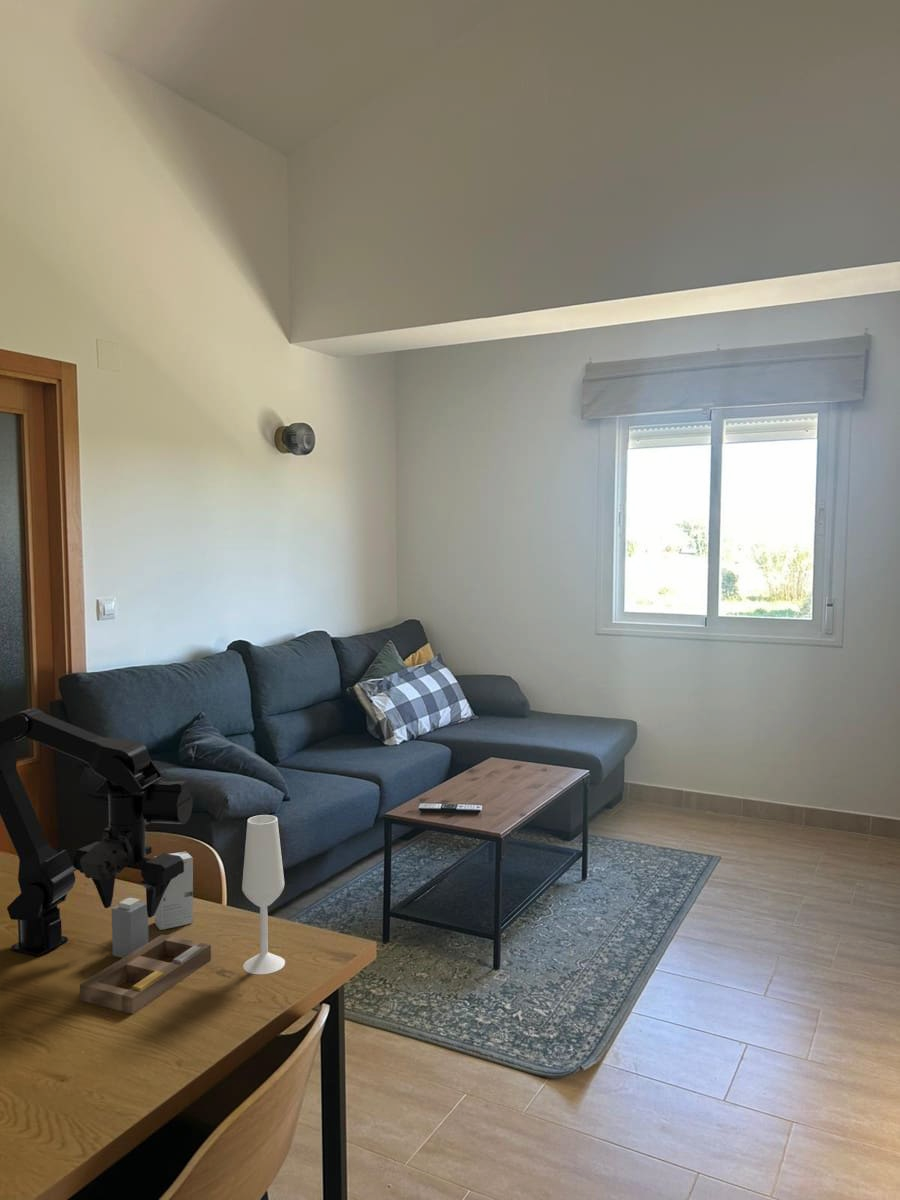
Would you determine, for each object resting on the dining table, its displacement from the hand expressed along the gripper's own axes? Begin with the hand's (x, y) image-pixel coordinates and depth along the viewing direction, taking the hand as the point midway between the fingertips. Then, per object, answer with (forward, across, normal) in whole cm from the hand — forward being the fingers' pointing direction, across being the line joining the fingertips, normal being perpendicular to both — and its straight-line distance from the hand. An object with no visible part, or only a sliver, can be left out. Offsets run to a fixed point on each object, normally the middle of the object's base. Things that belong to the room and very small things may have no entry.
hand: (129, 912), depth 146 cm
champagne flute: (+7, +23, +5) cm, 25 cm away
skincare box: (+7, -1, +12) cm, 14 cm away
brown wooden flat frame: (+7, +9, -6) cm, 13 cm away
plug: (+7, 0, 0) cm, 7 cm away
